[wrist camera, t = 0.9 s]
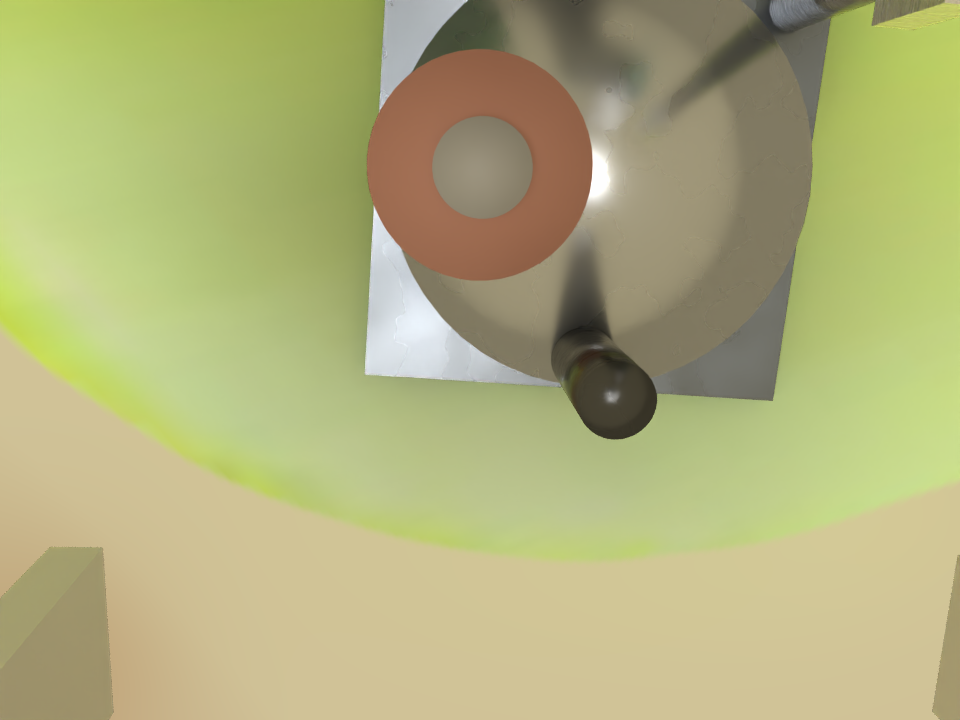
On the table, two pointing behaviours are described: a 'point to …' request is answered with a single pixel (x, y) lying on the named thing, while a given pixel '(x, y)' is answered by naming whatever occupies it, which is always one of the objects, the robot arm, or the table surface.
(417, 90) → the cover
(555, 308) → the turntable
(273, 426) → the table surface
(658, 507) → the table surface
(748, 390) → the turntable base
